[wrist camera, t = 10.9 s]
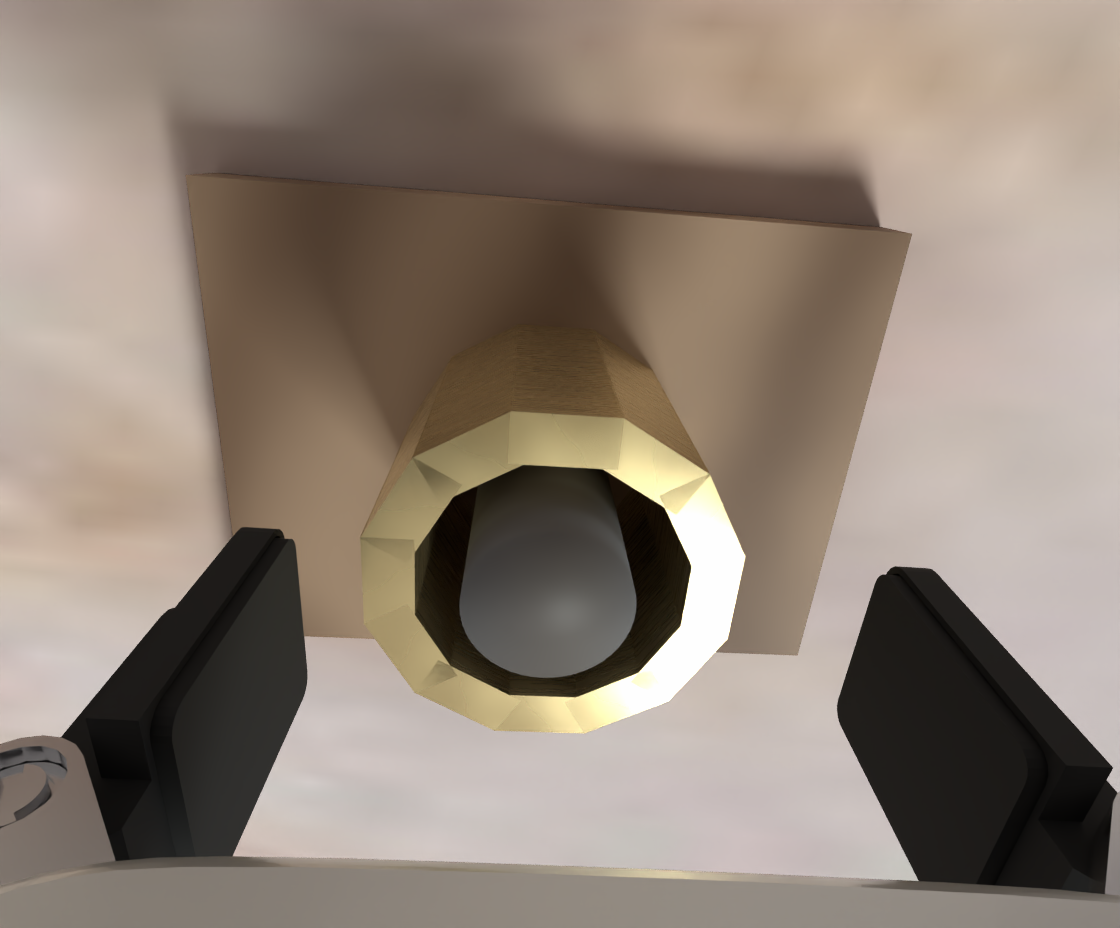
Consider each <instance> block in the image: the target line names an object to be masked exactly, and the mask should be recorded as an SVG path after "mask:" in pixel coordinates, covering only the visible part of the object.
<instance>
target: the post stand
mask: <svg viewBox="0 0 1120 928" xmlns="http://www.w3.org/2000/svg"><path fill="white" fill-rule="evenodd" d="M186 181H187V189H188V196H189V204H190V212H191V219H192V227H193V235H194V242H195V250H196V258H197V266H198V273H199V281H200V289H201V296H202V304H203V312H204V319H205V327H206V335H207V342H208V350H209V358H210V365H211V373H212V381H213V388H214V396H215V404H216V411H217V419H218V427H219V434H220V442H221V450H222V457H223V465H224V473H225V480H226V488H227V496H228V504H229V511H230V519H231V527H232V534H233V536H234V535H235V533H236V532H237V531H238V530H239V529H240V528H241V527H254V528H271V529H280V530H281V531H282V532H283V534H284V538H285V539H293V540H294V542H295V545H296V554H297V564H298V575H299V586H300V597H301V608H302V619H303V630H304V636H313V637H339V638H365V639H375V638H374V637H373V635H372V634H371V633H370V631H369V630H368V629H367V627H366V626H365V625H364V612H363V590H362V567H361V545H360V536H361V534H362V532H363V530H364V527H365V525H366V523H367V521H368V518H369V516H370V514H371V512H372V509H373V507H374V505H375V503H376V500H377V498H378V496H379V494H380V491H381V489H382V487H383V485H384V482H385V480H386V478H387V476H388V473H389V471H390V469H391V467H392V464H393V462H394V460H395V458H396V455H397V453H398V451H399V449H400V446H401V444H402V442H403V440H404V437H405V435H406V433H407V431H408V428H409V426H410V424H411V422H412V419H413V417H414V415H415V414H416V412H417V410H418V409H419V407H420V406H421V404H422V403H423V401H424V400H425V398H426V396H427V395H428V393H429V392H430V390H431V389H432V387H433V385H434V384H435V382H436V381H437V379H438V378H439V376H440V374H441V373H442V371H443V370H444V368H445V367H446V365H447V363H448V362H449V360H450V359H451V357H452V356H454V355H456V354H458V353H460V352H462V351H464V350H466V349H468V348H470V347H472V346H474V345H476V344H478V343H481V342H483V341H485V340H487V339H489V338H491V337H493V336H495V335H497V334H499V333H501V332H503V331H505V330H507V329H509V328H511V327H513V326H515V325H517V324H524V325H538V326H553V327H567V328H581V329H594V330H595V331H596V332H598V333H599V334H601V335H602V336H604V337H605V338H607V339H608V340H609V341H611V342H612V343H614V344H615V345H617V346H618V347H620V348H621V349H623V350H624V351H626V352H627V353H628V354H630V355H631V356H633V357H634V358H636V359H637V360H639V361H640V362H642V363H643V364H645V365H646V366H648V367H649V368H650V369H652V370H653V372H654V373H655V375H656V377H657V379H658V381H659V382H660V384H661V386H662V388H663V390H664V391H665V393H666V395H667V397H668V399H669V401H670V402H671V404H672V406H673V408H674V410H675V411H676V413H677V415H678V417H679V419H680V420H681V422H682V424H683V426H684V428H685V429H686V431H687V433H688V435H689V437H690V438H691V440H692V442H693V444H694V446H695V448H696V449H697V451H698V453H699V455H700V457H701V458H702V460H703V462H704V464H705V466H706V467H707V469H708V471H709V473H710V476H711V478H712V481H713V483H714V485H715V488H716V490H717V492H718V495H719V497H720V499H721V502H722V504H723V506H724V509H725V511H726V513H727V516H728V518H729V520H730V523H731V525H732V527H733V530H734V532H735V534H736V537H737V539H738V541H739V544H740V546H741V548H742V551H743V552H744V554H745V559H744V564H743V569H742V573H741V578H740V582H739V587H738V592H737V596H736V601H735V605H734V610H733V615H732V619H731V624H730V628H729V633H728V638H727V640H726V641H725V642H724V643H723V644H722V645H721V646H720V647H719V648H718V649H717V650H716V651H715V652H723V653H749V654H774V655H798V651H799V648H800V644H801V640H802V637H803V633H804V629H805V626H806V622H807V618H808V615H809V611H810V607H811V604H812V600H813V596H814V593H815V589H816V585H817V582H818V578H819V574H820V570H821V567H822V563H823V559H824V556H825V552H826V548H827V545H828V541H829V537H830V534H831V530H832V526H833V523H834V519H835V515H836V512H837V508H838V504H839V501H840V497H841V493H842V490H843V486H844V482H845V479H846V475H847V471H848V468H849V464H850V460H851V456H852V453H853V449H854V445H855V442H856V438H857V434H858V431H859V427H860V423H861V420H862V416H863V412H864V409H865V405H866V401H867V398H868V394H869V390H870V387H871V383H872V379H873V376H874V372H875V368H876V365H877V361H878V357H879V353H880V350H881V346H882V342H883V339H884V335H885V331H886V328H887V324H888V320H889V317H890V313H891V309H892V306H893V302H894V298H895V295H896V291H897V287H898V284H899V280H900V276H901V273H902V269H903V265H904V262H905V258H906V254H907V250H908V247H909V243H910V239H911V236H912V234H910V233H906V232H901V231H896V230H892V229H887V228H883V227H872V226H860V225H847V224H835V223H823V222H811V221H798V220H786V219H774V218H762V217H749V216H737V215H725V214H712V213H700V212H688V211H676V210H663V209H651V208H639V207H626V206H614V205H602V204H590V203H577V202H565V201H553V200H541V199H528V198H516V197H504V196H491V195H479V194H467V193H455V192H442V191H430V190H418V189H405V188H393V187H381V186H369V185H356V184H344V183H332V182H320V181H307V180H295V179H283V178H270V177H258V176H246V175H234V174H221V173H208V174H193V175H186ZM631 489H632V487H631V486H629V485H627V484H626V483H624V482H623V481H621V480H619V479H618V478H616V477H614V476H613V475H611V474H610V473H608V472H606V471H605V470H603V469H591V468H574V467H556V466H538V465H522V466H520V467H517V468H515V469H513V470H511V471H509V472H506V473H504V474H502V475H500V476H498V477H495V478H493V479H491V480H489V481H487V482H484V483H482V484H480V485H478V486H476V487H473V488H471V489H469V490H467V491H465V492H463V494H464V495H465V497H466V499H467V500H468V502H469V504H470V505H471V507H472V509H473V510H474V513H473V520H472V526H471V532H470V538H469V545H468V551H467V557H466V563H465V569H464V576H463V582H462V588H461V594H460V604H459V606H460V617H461V621H462V625H463V627H464V630H465V633H466V634H467V636H468V638H469V640H470V641H471V643H472V644H473V645H474V646H475V648H476V649H477V650H478V651H479V652H480V653H481V654H482V655H483V656H484V657H486V658H487V659H488V660H490V661H491V662H492V663H494V664H496V665H498V666H499V667H501V668H503V669H506V670H508V671H510V672H513V673H517V674H520V675H525V676H530V677H539V678H554V677H563V676H568V675H572V674H576V673H579V672H582V671H585V670H587V669H589V668H592V667H594V666H596V665H597V664H599V663H601V662H602V661H604V660H605V659H606V658H608V657H609V656H610V655H612V654H613V653H614V652H615V651H616V650H617V649H618V648H619V647H620V645H621V644H622V643H623V641H624V640H625V639H626V637H627V635H628V633H629V632H630V630H631V627H632V625H633V622H634V618H635V614H636V603H637V602H636V592H635V588H634V584H633V579H632V575H631V571H630V567H629V562H628V558H627V554H626V550H625V545H624V541H623V537H622V533H621V528H620V524H619V520H618V516H617V511H616V507H617V506H618V505H619V504H620V502H621V501H622V500H623V499H624V497H625V496H626V495H627V494H628V492H629V491H630V490H631Z"/></svg>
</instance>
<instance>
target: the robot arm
mask: <svg viewBox="0 0 1120 928" xmlns="http://www.w3.org/2000/svg"><path fill="white" fill-rule="evenodd" d="M306 685H307V663H306V652H305V641H304V630H303V619H302V608H301V597H300V586H299V575H298V564H297V554H296V545H295V542H294V540H293V539H285V538H284V534H283V532H282V531H281V530H280V529H271V528H254V527H241V528H240V529H239V530H238V531H237V532H236V533H235V535H234V536H233V537H232V538H231V540H230V541H229V542H228V543H227V544H226V546H225V547H224V548H223V549H222V551H221V552H220V553H219V554H218V556H217V557H216V558H215V559H214V560H213V562H212V563H211V564H210V565H209V567H208V568H207V569H206V570H205V571H204V573H203V574H202V575H201V576H200V578H199V579H198V580H197V581H196V583H195V584H194V585H193V586H192V587H191V589H190V590H189V591H188V592H187V594H186V595H185V596H184V597H183V599H182V600H181V601H180V602H179V603H178V605H177V606H176V607H175V608H172V609H169V610H168V611H166V612H165V613H164V614H163V615H162V616H161V617H160V618H159V620H158V621H157V622H156V623H155V624H154V626H153V627H152V628H151V629H150V630H149V632H148V633H147V634H146V635H145V636H144V638H143V639H142V640H141V641H140V642H139V644H138V645H137V646H136V647H135V649H134V650H133V651H132V652H131V653H130V655H129V656H128V657H127V658H126V659H125V661H124V662H123V663H122V664H121V665H120V667H119V668H118V669H117V670H116V671H115V673H114V674H113V675H112V676H111V678H110V679H109V680H108V681H107V682H106V684H105V685H104V686H103V687H102V688H101V690H100V691H99V692H98V693H97V694H96V696H95V697H94V698H93V699H92V700H91V702H90V703H89V704H88V705H87V706H86V708H85V709H84V710H83V711H82V713H81V714H80V715H79V716H78V717H77V719H76V720H75V721H74V722H73V723H72V725H71V726H70V727H69V728H68V729H67V731H66V732H65V733H64V734H63V735H62V737H52V736H44V735H43V736H34V737H25V738H19V739H16V740H12V741H9V742H5V743H2V744H0V928H1120V792H1118V793H1117V792H1116V791H1115V790H1114V788H1113V787H1112V786H1111V785H1110V784H1109V783H1108V782H1107V778H1108V776H1109V774H1110V773H1111V771H1112V769H1113V767H1112V766H1111V765H1110V764H1109V763H1108V762H1107V760H1106V759H1105V758H1104V757H1103V756H1102V755H1101V754H1100V753H1099V752H1098V751H1097V749H1096V748H1095V747H1094V746H1093V745H1092V744H1091V743H1090V742H1089V741H1088V739H1087V738H1086V737H1085V736H1084V735H1083V734H1082V733H1081V732H1080V731H1079V730H1078V728H1077V727H1076V726H1075V725H1074V724H1073V723H1072V722H1071V721H1070V720H1069V719H1068V717H1067V716H1066V715H1065V714H1064V713H1063V712H1062V711H1061V710H1060V709H1059V708H1058V706H1057V705H1056V704H1055V703H1054V702H1053V701H1052V700H1051V699H1050V698H1049V697H1048V695H1047V694H1046V693H1045V692H1044V691H1043V690H1042V689H1041V688H1040V687H1039V685H1038V684H1037V683H1036V682H1035V681H1034V680H1033V679H1032V678H1031V677H1030V676H1029V674H1028V673H1027V672H1026V671H1025V670H1024V669H1023V668H1022V667H1021V666H1020V665H1019V663H1018V662H1017V661H1016V660H1015V659H1014V658H1013V657H1012V656H1011V655H1010V654H1009V652H1008V651H1007V650H1006V649H1005V648H1004V647H1003V646H1002V645H1001V644H1000V643H999V641H998V640H997V639H996V638H995V637H994V636H993V635H992V634H991V633H990V631H989V630H988V629H987V628H986V627H985V626H984V625H983V624H982V623H981V622H980V620H979V619H978V618H977V617H976V616H975V615H974V614H973V613H972V612H971V611H970V609H969V608H968V607H967V606H966V605H965V604H964V603H963V602H962V601H961V600H960V598H959V597H958V596H957V595H956V594H955V593H954V592H953V591H952V590H951V589H950V587H949V586H948V585H947V584H946V583H945V582H944V581H943V580H942V579H941V577H940V576H939V575H938V574H937V573H936V572H935V571H933V570H932V569H927V568H912V567H896V566H895V567H893V568H891V569H890V570H889V571H888V572H887V574H886V575H881V576H879V577H878V579H877V581H876V583H875V586H874V589H873V592H872V595H871V598H870V601H869V605H868V608H867V611H866V614H865V617H864V620H863V624H862V627H861V630H860V633H859V636H858V639H857V642H856V646H855V649H854V652H853V655H852V658H851V661H850V664H849V668H848V671H847V674H846V677H845V680H844V683H843V687H842V690H841V693H840V696H839V699H838V704H837V713H838V719H839V722H840V725H841V727H842V729H843V731H844V733H845V735H846V737H847V739H848V741H849V743H850V745H851V747H852V749H853V751H854V753H855V755H856V757H857V759H858V761H859V763H860V765H861V767H862V769H863V771H864V773H865V775H866V777H867V779H868V781H869V783H870V785H871V787H872V789H873V791H874V793H875V795H876V797H877V799H878V801H879V803H880V805H881V807H882V809H883V811H884V813H885V815H886V817H887V819H888V821H889V823H890V825H891V827H892V829H893V831H894V833H895V835H896V837H897V839H898V841H899V843H900V845H901V847H902V849H903V851H904V852H905V854H906V856H907V858H908V860H909V862H910V864H911V866H912V868H913V870H914V872H915V874H916V876H917V878H918V880H919V881H903V880H881V879H860V878H838V877H816V876H795V875H773V874H750V873H726V872H701V871H677V870H653V869H627V868H602V867H576V866H551V865H523V864H494V863H465V862H436V861H407V860H378V859H349V858H292V857H235V856H233V854H234V851H235V849H236V847H237V845H238V842H239V840H240V838H241V836H242V833H243V831H244V829H245V827H246V825H247V822H248V820H249V818H250V816H251V813H252V811H253V809H254V807H255V804H256V802H257V800H258V798H259V795H260V793H261V791H262V789H263V787H264V784H265V782H266V780H267V778H268V775H269V773H270V771H271V769H272V766H273V764H274V762H275V760H276V758H277V755H278V753H279V751H280V749H281V746H282V744H283V742H284V740H285V737H286V735H287V733H288V731H289V728H290V726H291V724H292V722H293V720H294V717H295V715H296V713H297V711H298V708H299V706H300V704H301V702H302V699H303V697H304V694H305V690H306Z"/></svg>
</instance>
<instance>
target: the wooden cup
mask: <svg viewBox="0 0 1120 928" xmlns="http://www.w3.org/2000/svg"><path fill="white" fill-rule="evenodd" d="M522 465H538V466H556V467H574V468H591V469H603V470H605V471H606V472H608V473H610V474H611V475H613V476H614V477H616V478H618V479H619V480H621V481H623V482H624V483H626V484H627V485H629V486H631V487H632V489H631V490H630V491H629V492H628V494H627V495H626V496H625V497H624V499H623V500H622V501H621V502H620V504H619V505H618V506H617V507H616V511H617V516H618V520H619V524H620V528H621V533H622V537H623V541H624V545H625V550H626V554H627V558H628V562H629V567H630V571H631V575H632V579H633V584H634V588H635V592H636V602H637V603H636V614H635V618H634V622H633V625H632V627H631V630H630V632H629V633H628V635H627V637H626V639H625V640H624V641H623V643H622V644H621V645H620V647H619V648H618V649H617V650H616V651H615V652H614V653H613V654H612V655H610V656H609V657H608V658H606V659H605V660H604V661H602V662H601V663H599V664H597V665H596V666H594V667H592V668H589V669H587V670H585V671H582V672H579V673H576V674H572V675H568V676H563V677H554V678H539V677H530V676H525V675H520V674H517V673H513V672H510V671H508V670H506V669H503V668H501V667H499V666H498V665H496V664H494V663H492V662H491V661H490V660H488V659H487V658H486V657H484V656H483V655H482V654H481V653H480V652H479V651H478V650H477V649H476V648H475V646H474V645H473V644H472V643H471V641H470V640H469V638H468V636H467V634H466V633H465V630H464V627H463V625H462V621H461V617H460V606H459V604H460V594H461V588H462V582H463V576H464V569H465V563H466V557H467V551H468V545H469V538H470V532H471V526H472V520H473V513H474V510H473V509H472V507H471V505H470V504H469V502H468V500H467V499H466V497H465V495H464V494H463V492H465V491H467V490H469V489H471V488H473V487H476V486H478V485H480V484H482V483H484V482H487V481H489V480H491V479H493V478H495V477H498V476H500V475H502V474H504V473H506V472H509V471H511V470H513V469H515V468H517V467H520V466H522ZM360 545H361V567H362V590H363V612H364V625H365V626H366V627H367V629H368V630H369V631H370V633H371V634H372V635H373V637H374V638H375V640H376V641H377V642H378V644H379V645H380V646H381V648H382V649H383V650H384V652H385V653H386V654H387V656H388V657H389V658H390V660H391V661H392V663H393V664H394V665H395V667H396V668H397V669H398V671H399V672H400V673H401V675H402V676H403V677H404V679H405V680H406V681H407V683H408V684H409V685H410V687H411V688H412V690H413V691H414V692H415V693H417V694H419V695H421V696H423V697H425V698H427V699H429V700H431V701H434V702H436V703H438V704H440V705H442V706H444V707H446V708H448V709H450V710H452V711H455V712H457V713H459V714H461V715H463V716H465V717H467V718H469V719H471V720H473V721H476V722H478V723H480V724H482V725H484V726H486V727H488V728H490V729H492V730H494V731H525V732H557V733H587V732H590V731H592V730H595V729H597V728H600V727H603V726H605V725H608V724H610V723H613V722H616V721H618V720H621V719H623V718H626V717H629V716H631V715H634V714H636V713H639V712H641V711H644V710H647V709H649V708H652V707H654V706H657V705H660V704H662V703H665V702H668V701H669V700H670V699H671V698H672V697H673V696H674V695H675V693H676V692H677V691H678V690H679V689H680V688H681V687H682V686H683V685H684V684H685V683H686V682H687V681H688V680H689V679H690V678H691V677H692V675H693V674H694V673H695V672H696V671H697V670H698V669H699V668H700V667H701V666H702V665H703V664H704V663H705V662H706V661H707V660H708V659H709V657H710V656H711V655H712V654H713V653H714V652H715V651H716V650H717V649H718V648H719V647H720V646H721V645H722V644H723V643H724V642H725V641H726V640H727V638H728V633H729V628H730V624H731V619H732V615H733V610H734V605H735V601H736V596H737V592H738V587H739V582H740V578H741V573H742V569H743V564H744V559H745V554H744V552H743V551H742V548H741V546H740V544H739V541H738V539H737V537H736V534H735V532H734V530H733V527H732V525H731V523H730V520H729V518H728V516H727V513H726V511H725V509H724V506H723V504H722V502H721V499H720V497H719V495H718V492H717V490H716V488H715V485H714V483H713V481H712V478H711V476H710V473H709V471H708V469H707V467H706V466H705V464H704V462H703V460H702V458H701V457H700V455H699V453H698V451H697V449H696V448H695V446H694V444H693V442H692V440H691V438H690V437H689V435H688V433H687V431H686V429H685V428H684V426H683V424H682V422H681V420H680V419H679V417H678V415H677V413H676V411H675V410H674V408H673V406H672V404H671V402H670V401H669V399H668V397H667V395H666V393H665V391H664V390H663V388H662V386H661V384H660V382H659V381H658V379H657V377H656V375H655V373H654V372H653V370H652V369H650V368H649V367H648V366H646V365H645V364H643V363H642V362H640V361H639V360H637V359H636V358H634V357H633V356H631V355H630V354H628V353H627V352H626V351H624V350H623V349H621V348H620V347H618V346H617V345H615V344H614V343H612V342H611V341H609V340H608V339H607V338H605V337H604V336H602V335H601V334H599V333H598V332H596V331H595V330H594V329H581V328H567V327H553V326H538V325H524V324H517V325H515V326H513V327H511V328H509V329H507V330H505V331H503V332H501V333H499V334H497V335H495V336H493V337H491V338H489V339H487V340H485V341H483V342H481V343H478V344H476V345H474V346H472V347H470V348H468V349H466V350H464V351H462V352H460V353H458V354H456V355H454V356H452V357H451V359H450V360H449V362H448V363H447V365H446V367H445V368H444V370H443V371H442V373H441V374H440V376H439V378H438V379H437V381H436V382H435V384H434V385H433V387H432V389H431V390H430V392H429V393H428V395H427V396H426V398H425V400H424V401H423V403H422V404H421V406H420V407H419V409H418V410H417V412H416V414H415V415H414V417H413V419H412V422H411V424H410V426H409V428H408V431H407V433H406V435H405V437H404V440H403V442H402V444H401V446H400V449H399V451H398V453H397V455H396V458H395V460H394V462H393V464H392V467H391V469H390V471H389V473H388V476H387V478H386V480H385V482H384V485H383V487H382V489H381V491H380V494H379V496H378V498H377V500H376V503H375V505H374V507H373V509H372V512H371V514H370V516H369V518H368V521H367V523H366V525H365V527H364V530H363V532H362V534H361V536H360Z"/></svg>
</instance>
